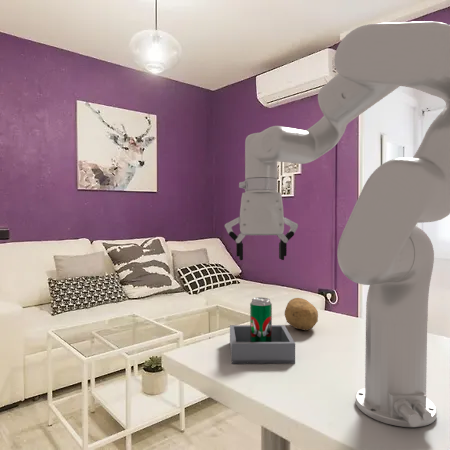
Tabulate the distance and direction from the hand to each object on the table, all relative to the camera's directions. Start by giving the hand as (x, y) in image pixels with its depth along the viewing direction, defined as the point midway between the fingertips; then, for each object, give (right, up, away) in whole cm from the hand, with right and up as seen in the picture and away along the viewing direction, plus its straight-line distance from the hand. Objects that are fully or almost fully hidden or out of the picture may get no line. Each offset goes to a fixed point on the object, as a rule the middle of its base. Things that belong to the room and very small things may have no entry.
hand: (261, 259), depth 92 cm
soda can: (0, -22, 0) cm, 22 cm away
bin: (0, -22, +1) cm, 22 cm away
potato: (+13, -22, +20) cm, 32 cm away
